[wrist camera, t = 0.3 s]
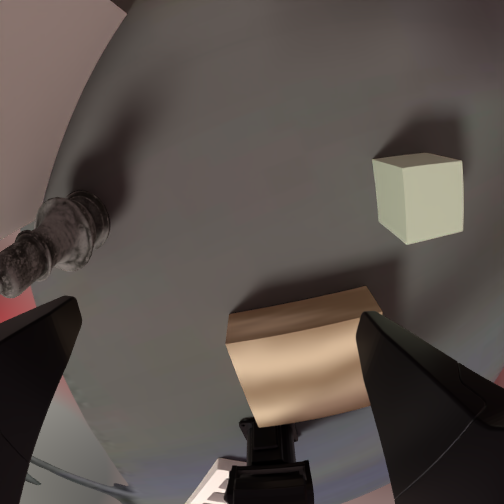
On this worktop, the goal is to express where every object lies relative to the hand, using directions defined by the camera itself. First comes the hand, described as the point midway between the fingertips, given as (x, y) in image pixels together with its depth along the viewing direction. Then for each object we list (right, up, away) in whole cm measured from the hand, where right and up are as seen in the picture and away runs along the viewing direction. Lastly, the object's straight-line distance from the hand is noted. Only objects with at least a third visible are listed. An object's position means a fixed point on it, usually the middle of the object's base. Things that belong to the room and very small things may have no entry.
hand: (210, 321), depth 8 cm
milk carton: (-20, +17, +9) cm, 27 cm away
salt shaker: (-13, +5, +14) cm, 19 cm away
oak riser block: (+6, -7, +18) cm, 21 cm away
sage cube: (+13, +7, +12) cm, 19 cm away
